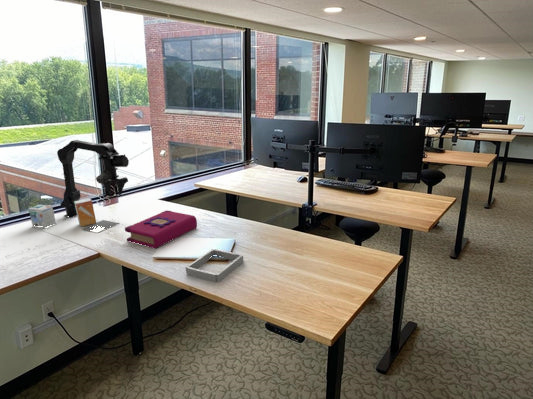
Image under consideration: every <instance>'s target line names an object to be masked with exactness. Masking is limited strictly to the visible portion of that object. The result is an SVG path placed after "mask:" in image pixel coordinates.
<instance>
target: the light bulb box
mask: <svg viewBox="0 0 533 399" xmlns="http://www.w3.org/2000/svg"><path fill="white" fill-rule="evenodd" d="M53 208H54V207H53V205H44V204H37V205H34V206H31V207H29V208H28V212H29V216H30V220H31V221H30V222H31V225H32V227H33V226H34V225H35V226H43V227H47V226H50V225H53V224H56V225H57V221H56V217H55V212H54V209H53Z"/></svg>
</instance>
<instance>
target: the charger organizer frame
mask: <svg viewBox="0 0 533 399" xmlns="http://www.w3.org/2000/svg"><path fill="white" fill-rule="evenodd" d="M213 255H217V256H221V257H224V258H223V259H225V258H226V259H225V260H230V261H231V262H230V263H229V264H227V265H226V266H225V267H224V268H222V269H221V270H220V271H218V272H217V273H215V272H210V271H207V270H202V269H199V267H201V266H203V265H204V264H205V263H206V262H208V261H209V260H210V259H209V258H210V257H211V256H213ZM243 263H244V255H242V254H241V253H237V252H230V251H227V250H222V249H218V248H214V249H213V248H212V249H210V250H209V251H207V252H206V253H204V254H202V255H201V256H199V257H198V258H197V259H195V260H194V261H192V262H190V263H189V264H187V265H186V266H185V273H187V274H186V275H187V276H190V275H191V277H194V276H195V277H194V278H199V279H203V280H205V281H209V282H214V283H219V282H221V281H222V280H224V279H225V278H226V277H227V276H228V275H229V274H232V272H233V271H235V270H236V269H237V268H239V266H240V265H242V264H243Z"/></svg>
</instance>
